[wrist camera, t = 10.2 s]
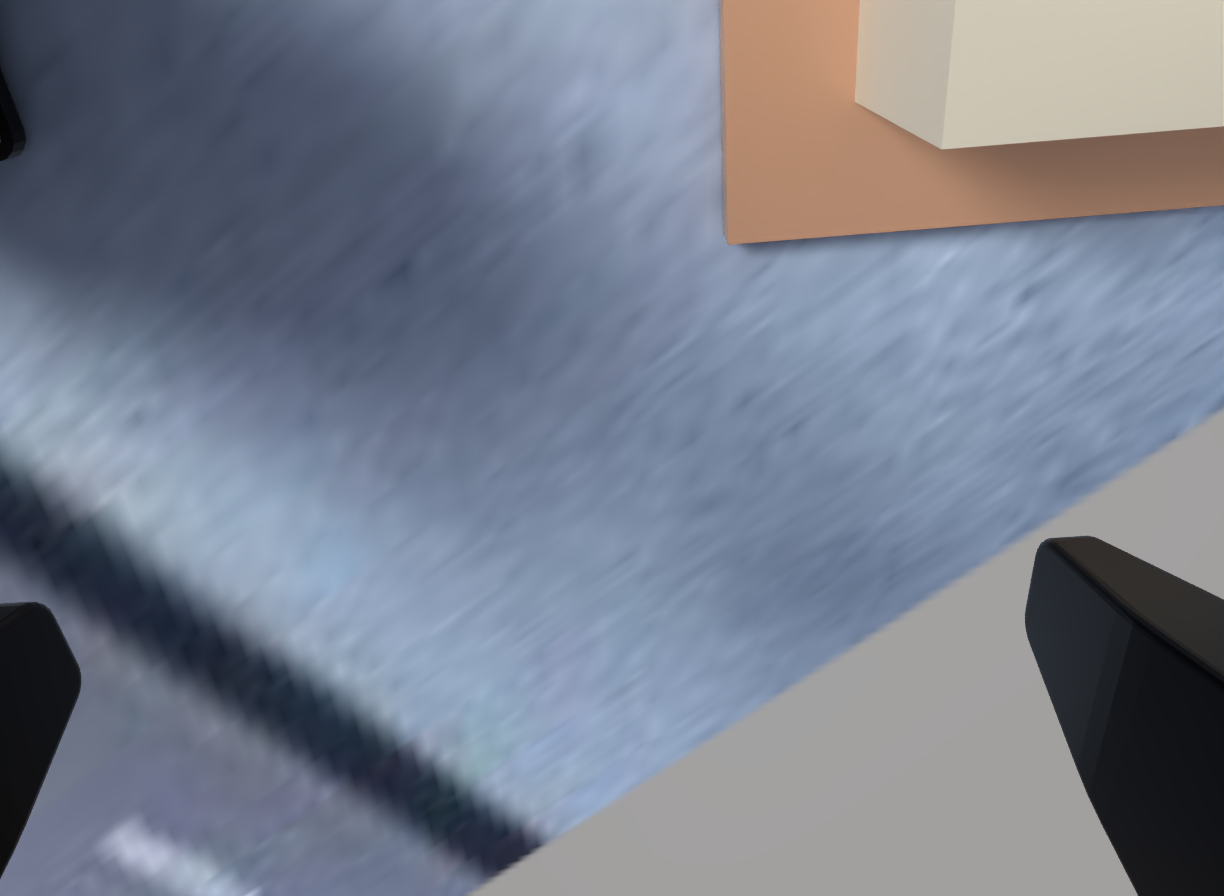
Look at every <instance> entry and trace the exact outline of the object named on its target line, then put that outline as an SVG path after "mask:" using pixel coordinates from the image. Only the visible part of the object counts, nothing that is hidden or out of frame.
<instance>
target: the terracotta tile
mask: <svg viewBox="0 0 1224 896" xmlns="http://www.w3.org/2000/svg"><path fill="white" fill-rule="evenodd" d="M859 4H860V0H719V40H720V87H721V133H722V179H723V226H724V236H725V239H726V241H727V244H728V245H731V244H743V243H756V242H768V241H781V240H793V239H806V238H818V237H831V236H844V235H856V234H869V233H881V232H894V231H906V230H919V229H931V228H944V227H957V226H969V225H982V224H994V223H1007V222H1019V221H1032V220H1044V219H1057V218H1070V217H1082V216H1095V215H1107V214H1120V213H1132V212H1145V211H1157V210H1170V209H1183V208H1195V207H1208V206H1220V205H1224V126H1221V127H1209V128H1197V129H1184V130H1172V131H1160V132H1148V133H1136V134H1124V135H1112V136H1099V137H1087V138H1075V139H1063V140H1051V141H1039V142H1026V143H1014V144H1002V145H990V146H978V147H966V148H954V149H940V148H938V147H936V146H934V145H932V144H931V143H929V142H927V141H925V140H923V139H922V138H920V137H918V136H916V135H914V134H912V133H911V132H909V131H907V130H905V129H903V128H902V127H900V126H898V125H896V124H894V123H892V122H891V121H889V120H887V119H885V118H883V117H882V116H880V115H878V114H876V113H874V112H872V111H871V110H869V109H867V108H865V107H863V106H862V105H860V104H858V103H856V102H855V86H856V66H857V45H858V25H859Z"/></svg>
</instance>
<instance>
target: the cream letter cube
mask: <svg viewBox="0 0 1224 896" xmlns="http://www.w3.org/2000/svg"><path fill="white" fill-rule="evenodd" d="M855 102H856V103H858V104H860V105H862V106H863V107H865V108H867V109H869V110H871V111H872V112H874V113H876V114H878V115H880V116H882V117H883V118H885V119H887V120H889V121H891V122H892V123H894V124H896V125H898V126H900V127H902V128H903V129H905V130H907V131H909V132H911V133H912V134H914V135H916V136H918V137H920V138H922V139H923V140H925V141H927V142H929V143H931V144H932V145H934V146H936V147H938V148H940V149H954V148H966V147H978V146H990V145H1002V144H1014V143H1026V142H1039V141H1051V140H1063V139H1075V138H1087V137H1099V136H1112V135H1124V134H1136V133H1148V132H1160V131H1172V130H1184V129H1197V128H1209V127H1221V126H1224V0H860V4H859V25H858V45H857V66H856V86H855Z"/></svg>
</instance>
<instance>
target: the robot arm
mask: <svg viewBox="0 0 1224 896" xmlns="http://www.w3.org/2000/svg"><path fill="white" fill-rule="evenodd" d="M0 139H1V142H0V161H2V160H6V159H9V158H12V157H15V156H18V155H19V154H20V153H21V152H22V151H23V150H24V148H25V143H26V137H25V132H24V128H23V126H22V123H21V120H20V118H19V115H18V113H17V110H16V107H15V105H14V102H13V100H12V97H11V94H10V92H9V89H8V87H7V84H6V81H5V79H4V76H3V74H2V71H1V68H0ZM1025 626H1026V632H1027V637H1028V640H1029V643H1030V645H1031V648H1032V651H1033V653H1034V656H1035V659H1036V661H1037V664H1038V667H1039V669H1040V672H1041V674H1042V677H1043V680H1044V683H1045V685H1046V688H1047V691H1048V693H1049V696H1050V699H1051V701H1052V704H1053V706H1054V709H1055V712H1056V714H1057V717H1058V720H1059V722H1060V725H1061V727H1062V730H1063V733H1064V736H1065V738H1066V741H1067V743H1068V746H1069V749H1070V752H1071V754H1072V757H1073V759H1074V762H1075V765H1076V767H1077V770H1078V772H1079V775H1080V777H1081V780H1082V782H1083V785H1084V787H1085V789H1086V792H1087V794H1088V797H1089V799H1090V801H1091V803H1092V805H1093V807H1094V809H1095V811H1096V813H1097V815H1098V818H1099V820H1100V822H1101V824H1102V825H1103V828H1104V830H1105V832H1106V834H1107V835H1108V837H1109V839H1110V841H1111V843H1112V845H1113V847H1114V849H1115V851H1116V853H1117V855H1118V857H1119V859H1120V861H1121V863H1122V865H1123V867H1124V869H1125V871H1126V873H1127V875H1128V877H1129V879H1130V881H1131V883H1132V884H1133V886H1134V888H1135V890H1136V892H1137V894H1138V896H1224V600H1223V599H1221V598H1219V597H1217V596H1215V595H1213V594H1211V593H1209V592H1207V591H1205V590H1203V589H1201V588H1199V587H1196V586H1195V585H1193V584H1190V583H1188V582H1186V581H1184V580H1182V579H1180V578H1178V577H1176V576H1174V575H1172V574H1170V573H1168V572H1166V571H1163V570H1162V569H1160V568H1158V567H1155V566H1153V565H1151V564H1149V563H1147V562H1145V561H1143V560H1141V559H1139V558H1137V557H1135V556H1133V555H1131V554H1129V553H1127V552H1125V551H1123V550H1121V549H1118V548H1116V547H1114V546H1112V545H1110V544H1108V543H1106V542H1104V541H1102V540H1100V539H1098V538H1095V537H1091V536H1078V537H1077V536H1076V537H1062V538H1049V539H1046V540H1045V541H1044V542H1042V543H1041V544H1040V546H1039V548H1038V549H1037V553H1036V556H1035V561H1034V567H1033V573H1032V578H1031V583H1030V589H1029V594H1028V600H1027V605H1026V612H1025ZM80 688H81V672H80V668H79V665H78V663H77V661H76V659H75V657H74V655H73V653H72V651H71V649H70V647H69V645H68V643H67V640H66V638H65V636H64V634H63V632H62V630H61V628H60V626H59V624H58V622H57V620H56V618H55V616H54V614H53V613H52V611H51V610H50V609H49V608H48V607H46V606H45V605H44V604H42V603H38V602H18V603H3V604H0V879H1V877H2V875H3V873H4V871H5V869H6V867H7V865H8V863H9V861H10V859H11V857H12V854H13V852H14V850H15V848H16V846H17V844H18V842H19V839H20V837H21V835H22V832H23V830H24V828H25V826H26V823H27V821H28V818H29V816H30V814H31V811H32V809H33V806H34V804H35V801H36V799H37V797H38V794H39V792H40V789H41V787H42V784H43V782H44V779H45V777H46V775H47V772H48V770H49V767H50V765H51V762H52V760H53V757H54V755H55V753H56V750H57V748H58V745H59V743H60V740H61V738H62V736H63V733H64V731H65V728H66V726H67V723H68V721H69V718H70V716H71V714H72V711H73V709H74V706H75V704H76V701H77V699H78V696H79V693H80Z"/></svg>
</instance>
